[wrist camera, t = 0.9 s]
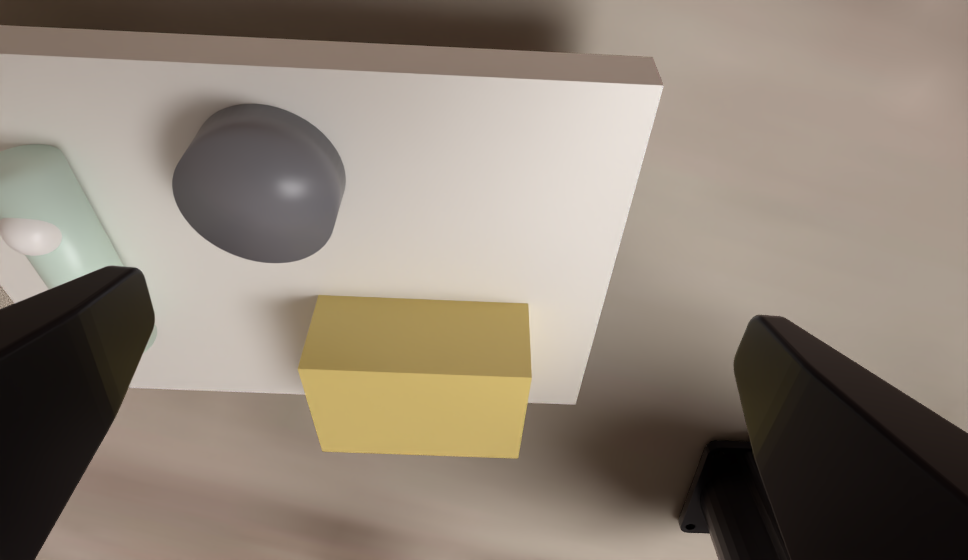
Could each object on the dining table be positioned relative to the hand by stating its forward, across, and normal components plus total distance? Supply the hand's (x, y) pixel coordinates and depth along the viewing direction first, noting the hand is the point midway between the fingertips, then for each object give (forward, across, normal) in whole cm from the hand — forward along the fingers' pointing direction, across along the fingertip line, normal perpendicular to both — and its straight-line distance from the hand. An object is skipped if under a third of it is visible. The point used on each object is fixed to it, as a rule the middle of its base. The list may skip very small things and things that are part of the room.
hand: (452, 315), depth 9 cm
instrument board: (+10, +5, +5) cm, 13 cm away
